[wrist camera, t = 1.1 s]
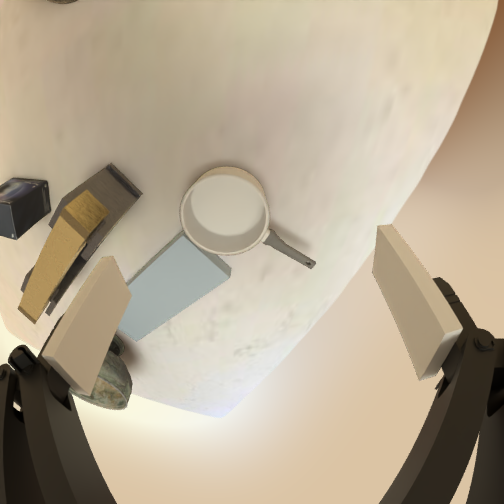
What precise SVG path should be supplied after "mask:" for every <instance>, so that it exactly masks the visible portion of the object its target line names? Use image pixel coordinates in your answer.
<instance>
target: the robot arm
mask: <svg viewBox="0 0 504 504" xmlns="http://www.w3.org/2000/svg"><path fill="white" fill-rule="evenodd" d="M48 1H50V2H55V3H60V4H64V3H70V2H73V1H76V0H48ZM372 273H373V275H374V277H375V279H376V281H377V283H378V285H379V287H380V289H381V292H382V294H383V296H384V298H385V300H386V302H387V304H388V306H389V309H390V311H391V313H392V315H393V317H394V320H395V322H396V324H397V327H398V329H399V331H400V333H401V336H402V338H403V341H404V343H405V346H406V348H407V350H408V353H409V355H410V358H411V360H412V363H413V366H414V368H415V371H416V374H417V376H418V379H419V381H421V380H424V379H427V378H430V377H433V376H436V374H437V373H438V371H439V370H440V368H441V367H442V370H443V372H444V376H443V377H442V379H441V380H440V381H439V383H438V384H437V386H436V388H435V389H436V390H437V389H438V391H437V393H436V396H435V399H434V401H433V404H432V406H431V409H430V411H429V413H428V416H427V418H426V420H425V423H424V425H423V427H422V429H421V432H420V434H419V436H418V438H417V440H416V442H415V444H414V446H413V448H412V450H411V452H410V454H409V456H408V458H407V459H406V461H405V463H404V464H403V466H402V468H401V470H400V472H399V473H398V475H397V477H396V478H395V480H394V481H393V483H392V485H391V486H390V488H389V489H388V491H387V492H386V494H385V495H384V497H383V498H382V500H381V501H380V503H379V504H450V502H451V500H452V498H453V496H454V494H455V492H456V490H457V488H458V486H459V483H460V481H461V479H462V477H463V474H464V472H465V470H466V467H467V465H468V462H469V460H470V457H471V455H472V452H473V449H474V446H475V444H476V441H477V437H478V434H479V442H478V449H477V456H476V462H475V467H474V473H473V477H472V482H471V486H470V491H469V494H468V498H467V502H466V504H504V339H495V338H494V336H493V335H492V334H491V333H490V332H488V331H486V330H484V329H479V328H477V327H476V325H475V323H474V321H473V320H472V318H471V317H470V315H469V313H468V312H467V310H466V309H465V307H464V306H463V304H462V302H460V300H459V298H458V296H457V295H455V292H454V291H453V289H452V288H451V286H450V285H449V284H448V283H447V282H445V281H444V280H443V279H442V278H440V277H438V278H433V279H432V278H431V276H430V275H429V273H428V272H427V270H426V269H425V268H424V266H423V265H422V263H421V262H420V261H419V259H418V258H417V257H416V255H415V254H414V252H413V251H412V250H411V248H410V247H409V246H408V244H407V243H406V242H405V240H404V239H403V238H402V237H401V235H400V234H399V233H398V231H397V230H396V229H395V228H394V227H393V225H392V224H389V225H379V226H377V237H376V246H375V255H374V263H373V271H372ZM131 297H132V295H131V293H130V291H129V289H128V287H127V285H126V283H125V280H124V278H123V276H122V274H121V272H120V270H119V268H118V265H117V263H116V261H115V259H114V257H113V256H109V257H102V258H101V260H100V261H99V262H98V264H97V265H96V267H95V268H94V269H93V271H92V272H91V274H90V275H89V277H88V278H87V280H86V281H85V283H84V284H83V286H82V287H81V289H80V290H79V292H78V293H77V295H76V296H75V298H74V300H73V301H72V303H71V304H70V306H69V308H68V309H67V311H66V312H65V313H64V314H63V315H62V316H61V317H60V318H59V319H58V321H57V323H56V325H55V326H54V329H53V330H52V331H51V333H50V335H49V337H48V338H47V340H46V342H45V344H44V346H43V348H42V349H41V351H40V353H39V355H38V357H37V358H36V356H35V355H34V354H33V353H32V352H31V351H30V349H29V348H28V347H27V346H26V345H20V346H17V347H16V348H15V349H14V350H13V351H12V353H11V354H10V356H9V358H8V363H9V364H10V365H11V366H12V367H13V368H14V369H15V370H13V369H12V368H11V367H10V365H8V364H3V365H1V366H0V504H117V503H116V501H115V499H114V498H113V496H112V494H111V492H110V490H109V489H108V486H107V484H106V482H105V480H104V478H103V476H102V474H101V472H100V470H99V467H98V465H97V463H96V461H95V459H94V456H93V454H92V451H91V449H90V446H89V444H88V441H87V439H86V436H85V433H84V430H83V428H82V425H81V422H80V419H79V416H78V413H77V410H76V407H75V403H74V400H73V397H72V395H71V393H70V392H69V389H70V386H71V387H72V388H73V389H74V390H75V391H76V392H77V393H78V394H83V395H88V396H90V395H91V392H92V390H93V387H94V384H95V381H96V379H97V376H98V374H99V371H100V368H101V366H102V363H103V361H104V358H105V356H106V353H107V351H108V349H109V346H110V344H111V342H112V339H113V337H114V335H115V332H116V330H117V328H118V325H119V323H120V321H121V319H122V316H123V314H124V312H125V310H126V308H127V306H128V303H129V301H130V299H131ZM14 402H15V403H16V404H17V405H19V406H20V407H21V409H20V411H18V410H16V409H15V408H14V407H13V403H14ZM479 431H480V432H479Z"/></svg>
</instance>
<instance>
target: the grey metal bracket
mask: <svg viewBox="0 0 504 504" xmlns="http://www.w3.org/2000/svg"><path fill="white" fill-rule="evenodd" d="M86 189H87V190H88V191H89V192H90V193H91V194H92V195H93V196H94V197H95V198H96V199H97V200H98V201H99V202H100V203H101V204H102V205H103V206H104V207H105V208H107V209H108V210H109V211H110V212H109V214H108V215H107V216H106V218H105V219H104V220H103V221H102V222H101V224H100V225H99V226H98V228H97V229H96V230H95V232H94V233H93V234H92V236H91V237H90V239H89V240H88V241H87V243H86V244H85V246H84V247H83V249H82V250H81V252H80V253H79V254H78V256H77V257H76V259H75V260H74V262H73V264H72V265H71V267H70V268H69V270H68V271H67V273H66V274H65V276H64V278H63V279H62V281H61V282H60V284H59V286H58V287H57V289H56V291H55V292H54V294H53V296H52V298H51V299H50V302H51V303H50V305H49V307H48V308H47V310H46V312H45V313H46V314H48V315H49V316H50V314H51V313H52V311H53V310H54V308H55V307H56V305H57V304H58V302H59V301H60V299H61V298H62V296H63V295H64V293H65V292H66V290H67V289H68V288H69V286H70V285H71V283H72V282H73V281H74V279H75V278H76V276H77V275H78V274H79V272H80V271H81V270H82V268H83V267H84V265H85V264H86V263H87V261H88V260H89V259H90V257H91V256H92V255H93V253H94V252H95V251H96V249H97V248H98V247H99V245H100V244H101V243H102V241H103V240H104V239H105V238H106V236H107V235H108V234H109V233H110V231H111V230H112V229H113V228H114V226H115V225H116V224H117V223H118V222H119V220H120V219H121V218H122V217H123V216H124V214H125V213H126V212H127V211H128V210H129V209H130V207H131V206H132V205H133V204H134V203H135V202H136V201H137V199H138V198H139V197H140V196H141V195H142V194H143V193H141V192H140V191H139V190H138V189H137V188H136V187H135V186H134V185H133V184H132V183H131V182H130V181H129V180H128V179H127V178H126V177H125V176H124V175H123V174H122V173H121V172H120V171H119V170H118V169H117V168H116V167H115V166H114V165H113V164H112V163H110V164H109V165H108V166H107V167H106V168H104V169H103V170H101V171H100V172H98V173H97V174H95V175H94V176H92V177H91V178H89V179H88V180H87V181H85V182H84V183H82V184H81V185H79V186H78V187H77V188H75V189H74V190H73V191H71V192H70V193H69V194H67V195H66V196H65V197H63V198H62V200H61V202H60V203H59V205H58V207H57V209H56V211H55V213H54V215H53V217H52V218H51V220H50V222H49V224H48V225H49V226H50V227H51V228H52V229H53V227H54V225H55V223H56V221H57V220H58V218H59V216H60V213H61V211H62V209H63V208H64V207H65V206H66V205H67V204H68V203H70V202H71V201H72V200H73V199H75V198H76V197H77V196H79V195H80V194H81V193H82V192H84V191H85V190H86ZM34 267H35V265H34ZM34 267H33V268H32V269H31V270H30V271H29V272H28V274H27V275H26V276H25V279H24V282H23V285H22V287H21V291H22V292H23V293H24V291H25V289H26V286H27V283H28V281H29V279H30V276H31V274H32V271H33V269H34Z"/></svg>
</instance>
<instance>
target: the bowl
mask: <svg viewBox="0 0 504 504" xmlns="http://www.w3.org/2000/svg"><path fill="white" fill-rule="evenodd" d="M123 352H124V345H123V342H122V341H121V340H120V339H119V337H118V336H116V335H114V337H113V339H112V342H111V344H110V346H109V349H108V351H107V353H106V356H105V358H104V361H103V363H102V366H101V368H100V371H99V374H98V376H97V379H96V381H95V384H94V387H93V390H92V392H91V395H90V396H88V395H83V394H78V393H77V392H76V391H75V390H74V389H73V388H72V387H71V386H70V389H69V392H70V393H71V394H73V395H75V396H77V397H79V398H81V399H82V400H84V401H86V402H88V403H91V404H93V405H96V406H100V407H103V408H106V409H112V410H122V409H125V408H126V407H127V403H128V401H129V397H130V394H131V391H132V380H131V376H130V374H129V372H128V370H127V368H126V365H125V364H124V362H123V361H122V360H121V358H119V357H118V356H120V355H122V353H123Z"/></svg>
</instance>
